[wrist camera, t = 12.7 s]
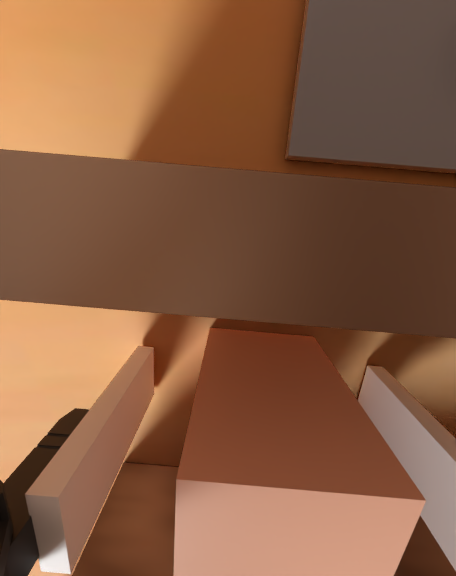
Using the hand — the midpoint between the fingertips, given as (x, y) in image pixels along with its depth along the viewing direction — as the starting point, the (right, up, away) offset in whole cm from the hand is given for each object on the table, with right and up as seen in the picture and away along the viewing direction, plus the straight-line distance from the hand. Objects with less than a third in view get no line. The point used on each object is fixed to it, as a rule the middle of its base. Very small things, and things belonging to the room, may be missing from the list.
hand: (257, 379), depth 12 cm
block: (0, 0, 0) cm, 0 cm away
